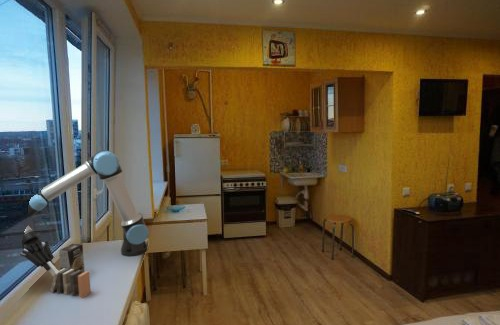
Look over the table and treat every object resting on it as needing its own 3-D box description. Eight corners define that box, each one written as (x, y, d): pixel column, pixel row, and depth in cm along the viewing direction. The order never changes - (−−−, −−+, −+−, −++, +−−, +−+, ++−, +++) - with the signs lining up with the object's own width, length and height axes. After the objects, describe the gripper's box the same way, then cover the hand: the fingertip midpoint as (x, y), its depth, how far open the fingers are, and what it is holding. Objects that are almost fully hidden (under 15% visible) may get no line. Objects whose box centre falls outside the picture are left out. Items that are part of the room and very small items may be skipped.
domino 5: (79, 297, 141) (77, 276, 139) (87, 291, 145) (86, 270, 144) (82, 297, 140) (80, 276, 139) (90, 291, 145) (89, 271, 144)
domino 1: (49, 290, 145) (54, 272, 143) (59, 285, 150) (64, 268, 148) (52, 292, 145) (57, 274, 143) (61, 287, 150) (66, 269, 147)
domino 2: (56, 292, 144) (57, 272, 142) (66, 287, 149) (66, 267, 147) (59, 293, 144) (60, 273, 142) (68, 288, 148) (69, 268, 147)
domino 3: (64, 294, 143) (62, 273, 142) (73, 289, 148) (71, 268, 146) (67, 295, 143) (65, 274, 141) (75, 289, 147) (74, 269, 146)
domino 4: (71, 295, 142) (70, 274, 141) (80, 290, 147) (78, 269, 145) (74, 296, 141) (72, 275, 140) (83, 290, 146) (81, 270, 145)
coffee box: (72, 282, 154) (69, 251, 152) (60, 281, 155) (58, 250, 153) (85, 273, 163) (83, 243, 161) (74, 272, 164) (72, 243, 162)
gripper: (33, 236, 156) (63, 272, 154) (7, 246, 144) (39, 285, 141) (41, 226, 154) (71, 263, 151) (14, 236, 141) (47, 275, 139)
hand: (55, 273), depth 146 cm, fingers closed
